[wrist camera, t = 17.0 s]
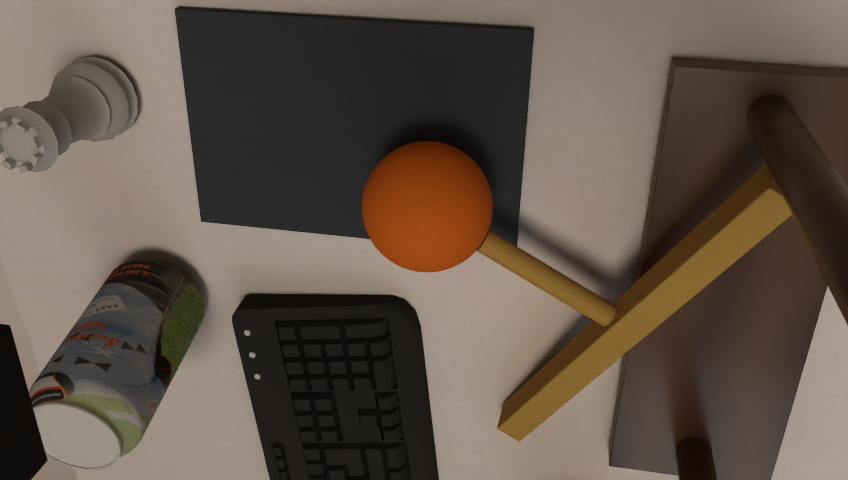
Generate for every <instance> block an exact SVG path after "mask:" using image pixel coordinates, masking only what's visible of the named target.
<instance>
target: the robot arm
mask: <svg viewBox="0 0 848 480" xmlns="http://www.w3.org/2000/svg"><path fill="white" fill-rule="evenodd" d="M46 461H47V456H46V453H45V449H44V446H43V442H42V439H41V435H40V431H39V428H38V424H37V421H36V417H35V414H34V410H33V406H32V403H31V399H30V396H29V392H28V388H27V385H26V382H25V378H24V374H23V371H22V367H21V363H20V360H19V356H18V353H17V350H16V346H15V342H14V338H13V335H12V331H11V328H10V325H4V324H0V480H31V479H32V478H33V477H34V475H35V474H36V473H37V472H38V471H39V470H40V469H41V467H42V466H43V465H44V464H45V463H46Z"/></svg>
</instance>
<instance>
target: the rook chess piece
mask: <svg viewBox="0 0 848 480" xmlns="http://www.w3.org/2000/svg"><path fill="white" fill-rule="evenodd" d="M137 114H138V99H137V96H136V93H135V91H134V88H133V85H132V83H131V82H130V80H129V79H128V78H127V77H126V75H125V74H124V73H123V72H122V71H121V69H119V68H118V67H116V66H115V65H113V64H111V63H110V62H108V61H107V60H104V59H100V58H95V57H91V56H90V57H85V58H80V59H76V60H75V61H74V62H73V63H71V64H70V65H67V66H66V67H65V68H64V69H63V70H61V71H60V72H59V73H58V74H57V75H56V77H55V79H54V82H53V84H52V87H51V90H50V93H49V95H48V96H47V97H46V98H45V99H43V100H42V101H34V102H29V103H27V104H26V105H24V106H23V107H19V106H15V107H10V108H5V109H4V110H3V111H2V112H0V153H1V154H2V155H3V157H4V158H5V160H4V161H3V162H2V163H1V165H3V166H5V167H6V168H8V169H9V170H11V169H13V168H14V167H16V166H17V167H19V170H20V172H26V171H32V172H38V171H44V170H47V169H48V168H49V167H51V166H52V165H53V164H54V163H55V160H56V158H57V155H61V154H62V153H64V152H65V151H66V150H68V148H69V146H70V143H73V142H76V141H78V140H81V139H83V140H91V141H101V140H107V139H113V138H114V137H115V136H117V135H119V134H122V133H124V132H125V131H126V130H128V129H129V128H130V127H132V125H133V123H134V121H135V118H136V116H137Z"/></svg>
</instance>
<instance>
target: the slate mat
mask: <svg viewBox="0 0 848 480" xmlns="http://www.w3.org/2000/svg"><path fill="white" fill-rule="evenodd" d="M175 15H176V23H177V31H178V39H179V47H180V55H181V63H182V71H183V79H184V87H185V95H186V103H187V111H188V119H189V127H190V135H191V143H192V151H193V159H194V167H195V175H196V183H197V192H198V200H199V208H200V216H201V221H202V222H210V223H220V224H230V225H240V226H250V227H259V228H269V229H279V230H289V231H299V232H308V233H318V234H328V235H338V236H348V237H357V238H367V239H370V237H369V235H368V233H367V231H366V228H365V225H364V221H363V216H362V197H363V193H364V188H365V185H366V183H367V180H368V178H369V176H370V174H371V173H372V171H373V170H374V168H375V167H376V165H377V164H378V163H379V162H380V161H381V160H382V159H383V158H384V157H385V156H387V155H388V154H389V153H391V152H392V151H394V150H395V149H397V148H400V147H402V146H404V145H407V144H410V143H415V142H421V141H433V142H440V143H444V144H448V145H450V146H453V147H455V148H457V149H459V150H461V151H462V152H464V153H465V154H467V155H468V156H469V157H470V158H471V159H472V160H474V161H475V162H476V164H477V165H478V166H479V167H480V168H481V170H482V172H483V173H484V175H485V177H486V179H487V181H488V183H489V186H490V190H491V194H492V200H493V213H492V220H491V224H490V227H489V230H490V231H492V232H494V233H495V234H497V235H499V236H500V237H502V238H504V239H505V240H507V241H509V242H510V243H512V244H513V245H515V246H517V235H518V223H519V210H520V198H521V186H522V173H523V161H524V148H525V136H526V123H527V111H528V99H529V86H530V74H531V61H532V49H533V37H534V28H526V27H509V26H492V25H475V24H459V23H442V22H425V21H408V20H392V19H375V18H358V17H341V16H325V15H308V14H291V13H274V12H258V11H241V10H224V9H207V8H190V7H178V8H176V9H175Z"/></svg>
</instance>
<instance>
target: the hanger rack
mask: <svg viewBox="0 0 848 480" xmlns="http://www.w3.org/2000/svg"><path fill="white" fill-rule="evenodd" d="M766 163H767V165H768V167H769V169H770V171H771V173H772V175H773V177H774V179H775V181H776V183H777V185H778V187H779V189H780V191H781V193H782V195H783V197H784V199H785V201H786V203H787V205H788V207H789V209H790V211H791V213H792V215H791V216H790V217H788V218H787V219H786V220H785V221H784V222H782V223H781V224H780V225H779V226H778V227H776V228H775V229H774V230H773V231H772V232H770V233H769V234H768V235H767V236H766V237H764V238H763V239H762V240H761V241H760V242H758V243H757V244H756V245H755V246H754V247H752V248H751V249H750V250H749V251H748V252H746V253H745V254H744V255H743V256H742V257H740V258H739V259H738V260H737V261H736V262H734V263H733V264H732V265H731V266H730V267H728V268H727V269H726V270H725V271H724V272H722V273H721V274H720V275H719V276H718V277H716V278H715V279H714V280H713V281H712V282H710V283H709V284H708V285H707V286H706V287H704V288H703V289H702V290H701V291H700V292H698V293H697V294H696V295H695V296H694V297H692V298H691V299H690V300H689V301H688V302H686V303H685V304H684V305H683V306H682V307H680V308H679V309H678V310H677V311H676V312H674V313H673V314H672V315H671V316H670V317H668V318H667V319H666V320H665V321H664V322H662V323H661V324H660V325H659V326H657V327H656V328H655V329H654V330H653V331H651V332H650V333H649V334H648V335H647V336H645V337H644V338H643V339H642V340H641V341H639V342H638V343H637V344H636V345H635V346H633V347H632V348H631V349H630V350H629V351H627V352H626V353H625V354H624V357H623V363H622V369H621V375H620V381H619V388H618V394H617V400H616V406H615V412H614V418H613V424H612V431H611V437H610V443H609V466H614V467H621V468H629V469H636V470H643V471H650V472H657V473H665V474H672V475H678V476H679V480H771V477H772V474H773V470H774V467H775V463H776V460H777V457H778V453H779V450H780V446H781V443H782V439H783V436H784V433H785V429H786V426H787V422H788V419H789V415H790V412H791V409H792V405H793V402H794V398H795V395H796V392H797V388H798V385H799V381H800V378H801V374H802V371H803V368H804V364H805V361H806V357H807V354H808V350H809V347H810V344H811V340H812V337H813V333H814V330H815V326H816V323H817V320H818V316H819V313H820V309H821V306H822V302H823V299H824V296H825V292H826V289H827V285H828V287H829V289H830V291H831V293H832V295H833V297H834V299H835V301H836V303H837V305H838V307H839V309H840V311H841V313H842V315H843V317H844V319H845V321H846V323H847V325H848V69H840V68H825V67H809V66H793V65H778V64H762V63H746V62H730V61H715V60H699V59H683V58H672V61H671V67H670V73H669V80H668V86H667V92H666V98H665V104H664V110H663V117H662V123H661V129H660V135H659V141H658V147H657V154H656V160H655V166H654V172H653V178H652V184H651V190H650V197H649V203H648V209H647V215H646V221H645V227H644V234H643V240H642V246H641V252H640V258H639V264H638V271H637V277H636V282H637V281H638V280H639V279H640V278H641V277H642V276H643V275H644V274H645V273H646V272H648V271H649V270H650V269H651V268H652V267H653V266H654V265H655V264H656V263H657V262H658V261H660V260H661V259H662V258H663V257H664V256H665V255H666V254H667V253H668V252H669V251H670V250H672V249H673V248H674V247H675V246H676V245H677V244H678V243H679V242H680V241H681V240H683V239H684V238H685V237H686V236H687V235H688V234H689V233H690V232H691V231H692V230H693V229H695V228H696V227H697V226H698V225H699V224H700V223H701V222H702V221H703V220H704V219H705V218H707V217H708V216H709V215H710V214H711V213H712V212H713V211H714V210H715V209H716V208H717V207H719V206H720V205H721V204H722V203H723V202H724V201H725V200H726V199H727V198H728V197H729V196H731V195H732V194H733V193H734V192H735V191H736V190H737V189H738V188H739V187H740V186H742V185H743V184H744V183H745V182H746V181H747V180H748V179H749V178H750V177H751V176H752V175H754V174H755V173H756V172H757V171H758V170H759V169H760V168H761V167H762V166H763V165H764V164H766Z"/></svg>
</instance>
